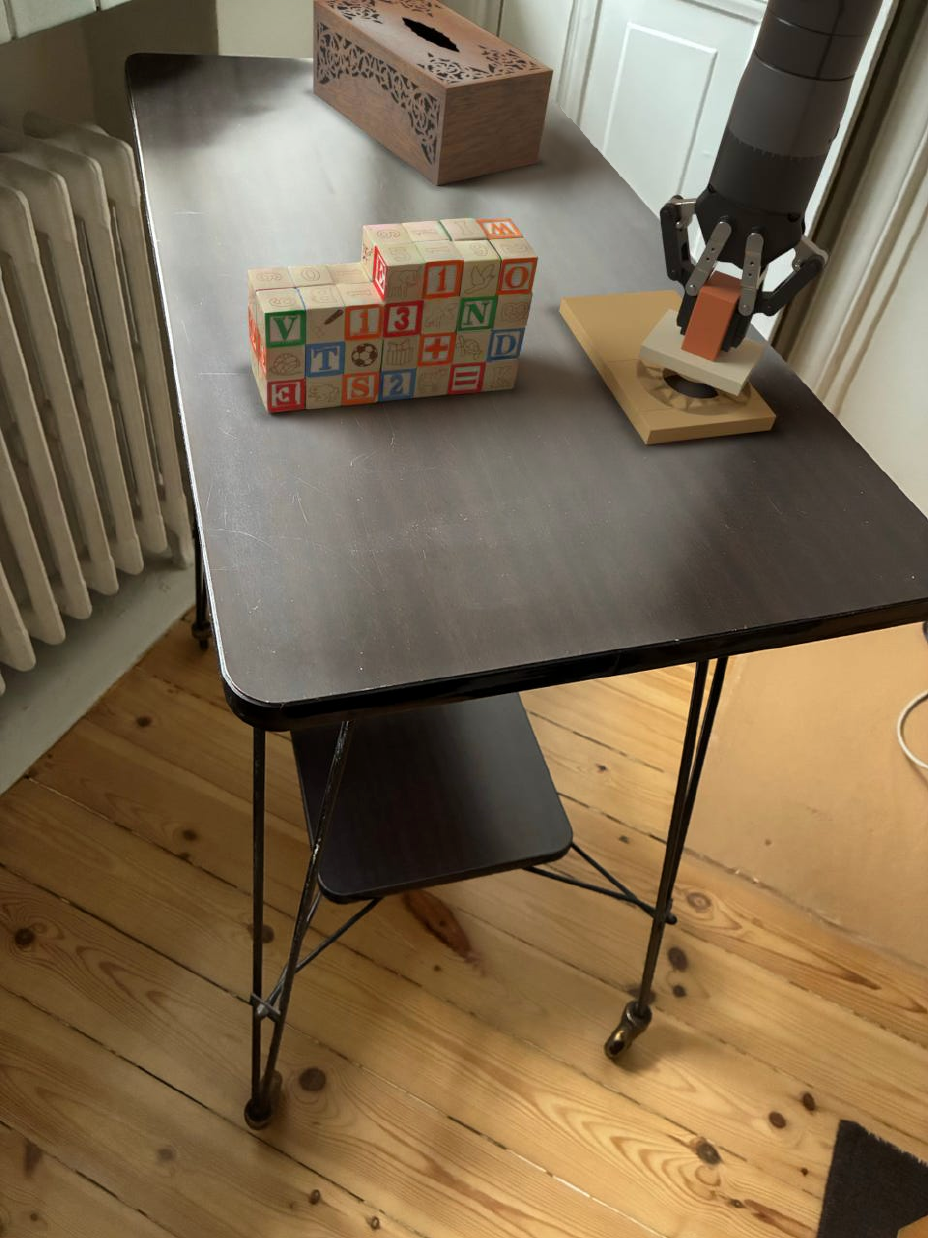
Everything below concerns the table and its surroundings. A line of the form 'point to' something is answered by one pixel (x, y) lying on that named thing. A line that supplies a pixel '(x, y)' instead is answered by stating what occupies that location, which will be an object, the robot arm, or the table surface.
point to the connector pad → (696, 366)
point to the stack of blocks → (394, 317)
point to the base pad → (654, 371)
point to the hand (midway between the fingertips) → (707, 338)
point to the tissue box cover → (430, 85)
